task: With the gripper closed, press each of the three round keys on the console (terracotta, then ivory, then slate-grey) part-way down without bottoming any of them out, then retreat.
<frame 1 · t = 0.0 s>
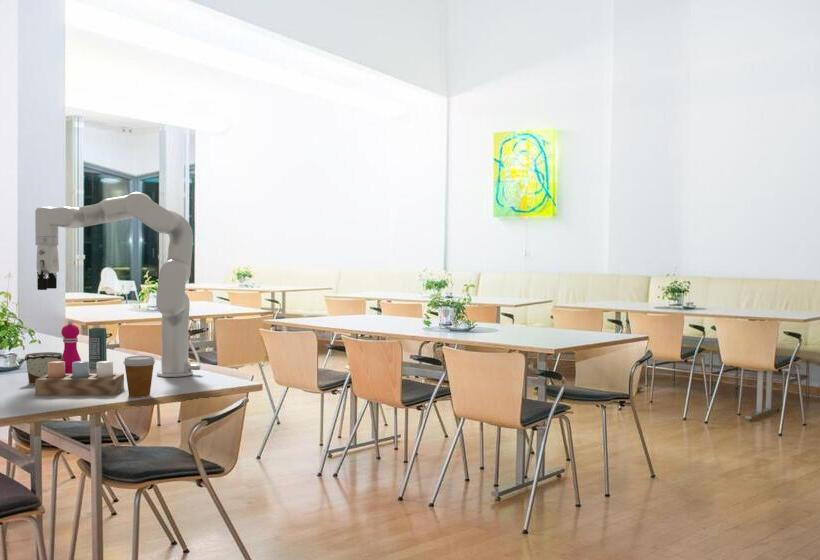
hand: (47, 289, 297), 31 cm above the table, fingers open, 9 cm apart
food container: (44, 382, 284), on the table
dark green cylinder: (97, 367, 319), on the table
pepper mill: (70, 375, 299), on the table
disposable coffee cup: (139, 396, 260), on the table
terracotta key: (56, 372, 264), point 6 cm above the table, slide at 0.0 cm
console: (80, 391, 265), on the table
ivory key: (104, 372, 266), point 6 cm above the table, slide at 0.0 cm
slate key: (80, 372, 265), point 6 cm above the table, slide at 0.0 cm
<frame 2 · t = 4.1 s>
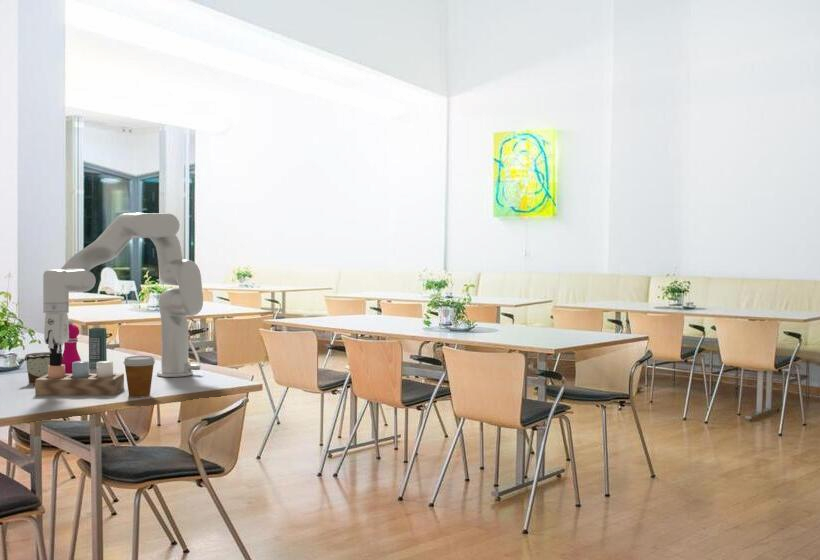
hand: (55, 365, 264), 9 cm above the table, fingers closed
terracotta key: (56, 375, 264), point 5 cm above the table, slide at 1.0 cm, touching gripper
everything else where it was.
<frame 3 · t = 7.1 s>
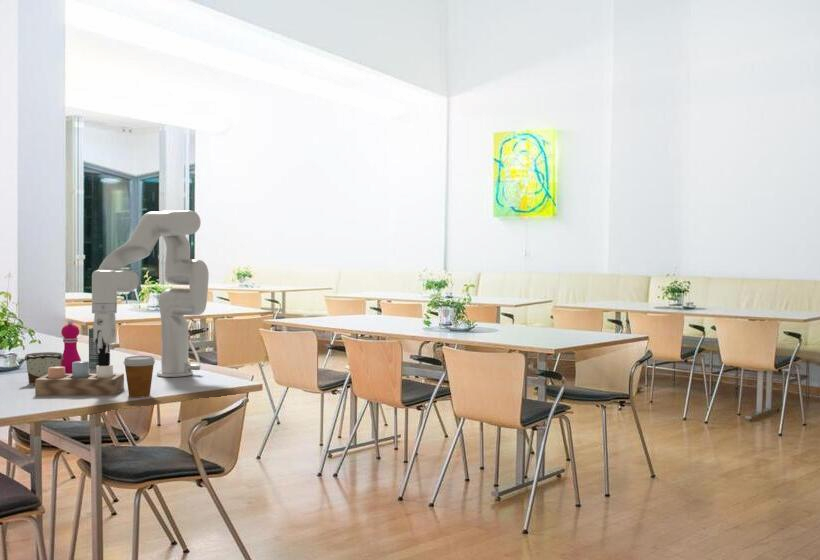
hand: (104, 365, 265), 9 cm above the table, fingers closed
terracotta key: (56, 377, 264), point 5 cm above the table, slide at 1.7 cm
ivory key: (104, 375, 266), point 5 cm above the table, slide at 1.1 cm, touching gripper
everything else where it was.
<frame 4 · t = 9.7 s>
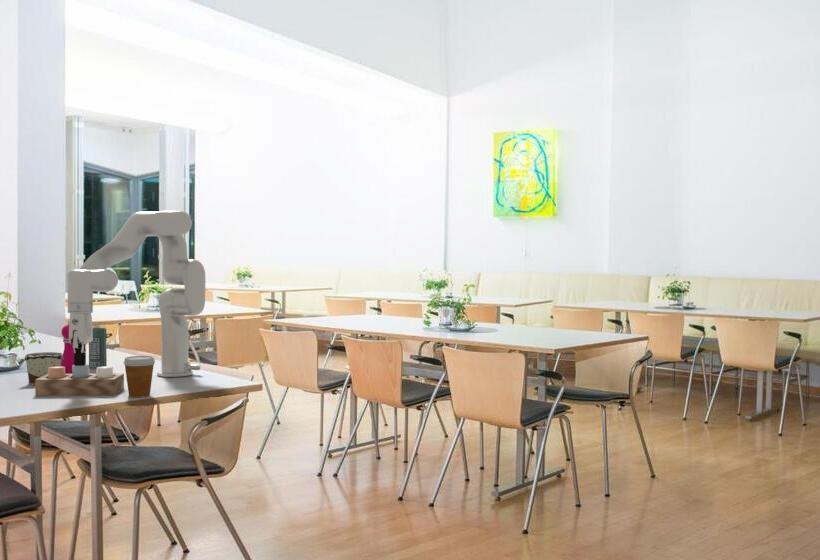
hand: (79, 365, 265), 9 cm above the table, fingers closed
ivory key: (104, 377, 266), point 5 cm above the table, slide at 1.8 cm
slate key: (80, 375, 265), point 5 cm above the table, slide at 1.0 cm, touching gripper
everything else where it was.
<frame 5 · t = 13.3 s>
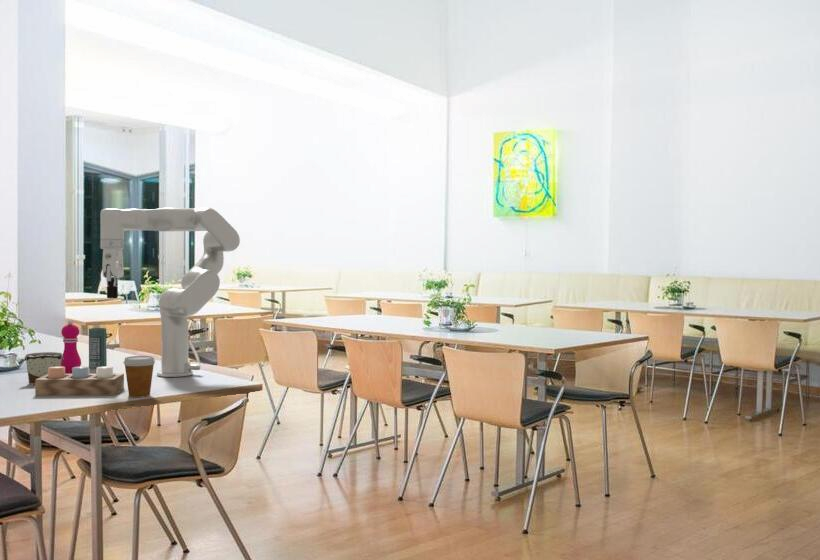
hand: (112, 298, 283), 29 cm above the table, fingers closed
slate key: (80, 377, 265), point 5 cm above the table, slide at 1.8 cm
everything else where it was.
at the end: terracotta key slide at 1.7 cm; ivory key slide at 1.8 cm; slate key slide at 1.8 cm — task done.
